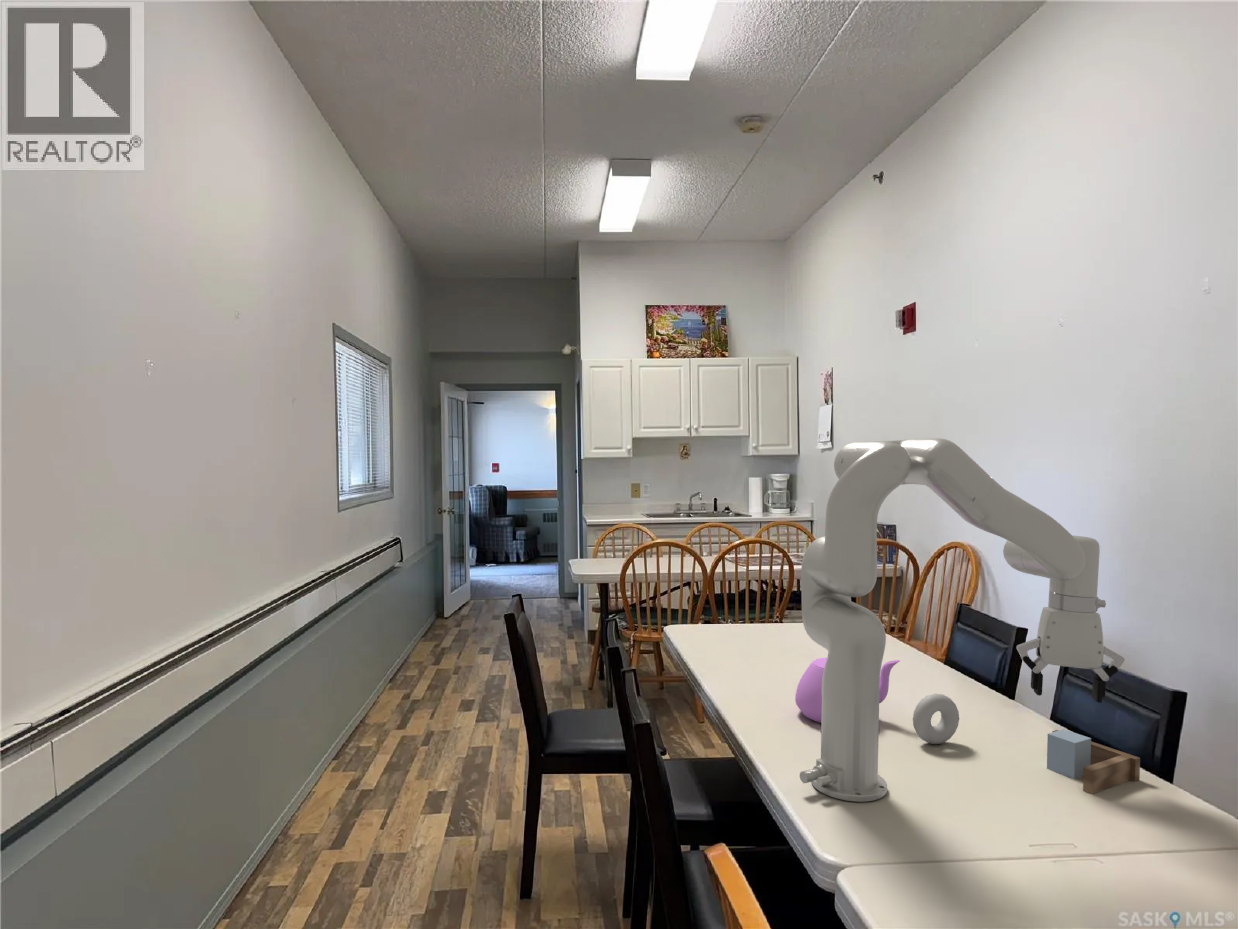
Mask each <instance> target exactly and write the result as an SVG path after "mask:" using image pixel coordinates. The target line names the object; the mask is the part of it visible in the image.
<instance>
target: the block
mask: <svg viewBox="0 0 1238 929" xmlns="http://www.w3.org/2000/svg"><path fill="white" fill-rule="evenodd" d="M1091 742H1092V738H1091V737H1088V736H1085V735H1082V734H1079V733H1077V732H1073V731H1070V730H1067V729H1065V728H1064V729H1060V730H1059V731H1056V732H1049V733H1047V746H1046V747H1047V748H1046V749H1047V750H1046V769H1047V770H1049V771H1052V772H1055V773H1057V774H1060V775H1062V776H1066V777H1068V778H1070V779H1073V780H1076V779H1078V778H1081V777H1083V770H1084V767H1087V766H1090V759H1091Z"/></svg>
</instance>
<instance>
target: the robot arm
mask: <svg viewBox="0 0 1238 929" xmlns="http://www.w3.org/2000/svg"><path fill="white" fill-rule="evenodd" d="M833 468H834V469H833V470H834V473H835V475H836V477H837V479H838V480H837V481H836V483H835V484H834V486H833V488H832V490H831V492H830V495H829V497H828V500H827V504H826V509H825V528H824V529H825V530H824V536H821V537H818V538H816V539H815V540H813V541H812V542H811V543H809V545H808V546H807V548H806V549H805V551H804V553H803V558H802V561H801V569H800V570H801V571H800V572H801V573H800V574H801V575H800V576H801V579H800V580H801V581H800V582H801V584H800V585H801V588H800V589H801V616H802V617H801V618H802V625H803V628H804V631H805V632H806V634H807V635H808V636H809V638H810V639H811V640H812V642H814V643H816V644H817V645H819V646H821V647H822V648H824V649H826V650H827V651H828V652H827V657H826V658H827V661H826V664H825V667H824V671H823V677H822V719H821V724H820V726H821V729H820V735H821V736H820V758H817V759H816V761H815V765H814V766H813V767H812V769H806V770H802V771H800V772H799V780H800V781H801V782H802V784H808V783H811V784H812V786H813V787H814V788H815V789H816V790H817V791H819V792H820V793H822V794H824V795H826V796H828V797H831V798H834V799H837V800H838V799H839V800H842V801H849V802H854V803H855V802H856V803H857V802H861V803H864V802H873V801H877V800H880V799H881V798H883V797H885V795H887V792H888V784H887V781H886V780H885V779H884V777H882V776H881V775H880V774H878V773H879V770H878V769H879V736H880V735H879V732H880V730H879V727H880V726H879V723H880V704H879V685H880V674H881V669H882V666H883V659H884V655H885V649H886V644H887V639H886V638H887V636H886V629H885V627H884V624H883V623H882V620H881V619H880V617H878V616H877V614H875V612H873V611H872V610H870V609H869V608H868V607H865V606H863V605H861V604H858V603H856V602H854V601H852V598H859V597H864V596H866V595H867V594H869V593H870V592H871V591H873V589H874V587H875V585H876V583H877V578H878V541H877V540H878V539H877V538H878V536H877V535H878V534H877V528H878V516H879V511H880V509H881V507H882V505H883V503H884V501H885V500H886V499H887V497H888V496H889V495H891V493H892V492H894V490H896V489H897V488H899V486H902V485H921V486H926V487H927V488H929V489H930V490H931V491H932V492H933V493H935V494H936V496H938V497H939V498H940V499H941V500H942V501H943V502H945V503H946V504H947V505H948V506H949V508H951V509H952V510H953V511H954V512H956V513H957V515H958V516H960V517H961V518H962V519H963V520H964V521H965V522H967V523H969V524H970V525H972V526H974V527H975V528H978V529H980V530H982V531H984V532H987V533H989V534H993V535H995V536H997V537H1000V538H1002V539H1005V540H1007V541H1005V544H1004V546H1003V549H1002V553H1003V558H1004V560H1005V561H1006V563H1007V565H1009V566H1010V567H1011V568H1013V569H1014V570H1015V571H1018V572H1021V573H1022V574H1023V573H1024V574H1028V575H1032V576H1036V577H1042V578H1046V579H1049V588H1048V590H1049V592H1048V602H1047V603H1048V606H1044V607H1043V608H1042V610H1041V614H1040V618H1039V622H1038V628H1037V636H1036V638H1034V639H1031V640H1028V641H1025V642H1022V643H1020V644H1017V645H1016V650H1017V652H1018V654H1019V655H1020V656H1019V657H1020V659H1021V660H1022V661H1023V663H1025V665H1026V666H1027V667H1028V668H1029V669H1030V670H1031V674H1030V676H1031V677H1030V688H1031V690H1033V692H1034V693H1035V694H1036V696H1042V695H1043V683H1044V680H1043V679H1044V674H1043V673H1042V671H1043V670H1044V669H1045V668H1046V667H1047V666H1048V665H1052V666H1059V667H1069V668H1077V669H1078V668H1079V669H1086V670H1087V669H1088V670H1092V671H1093V672H1094V673H1095V675H1094V676H1093V677H1092V691H1091V697H1092V699H1093V701H1095V702H1096V703H1100V704H1102V703H1103V698H1105V697H1106V687H1107V686H1106V685H1107V682H1108V681H1109V680H1110V678H1111V677H1112V676H1114V675H1115V674H1117V673H1118V672H1119V669H1120V668H1121V667H1122V665H1123V664H1124V663H1125V661H1126V660H1125V658H1124V657H1123V656H1122V655H1121V654H1119V653H1117V652H1115V651H1114V650H1112V649H1110V648H1108V647H1106V646H1104V634H1103V632H1104V631H1103V625H1102V618H1101V614H1100V613H1098V611H1099V609H1100V608H1106V604H1107V603H1106V600H1104V599H1100V598H1099V597H1098V585H1099V569H1100V568H1099V567H1100V551H1101V548H1100V547H1101V546H1100V543H1099V542H1098V540H1096V539H1095V538H1092V537H1088V536H1081V535H1072V533H1071V532H1069V531H1068V530H1067V529H1066V528H1065V527H1064V526H1063V525H1061V523H1060V522H1058V521H1057V520H1055V519H1054V518H1053V517H1052V516H1050V515H1049V514H1047V513H1046V512H1045V511H1043V510H1041V509H1040V508H1038V507H1036V506H1034V505H1033V504H1030V502H1028V501H1026V500H1024V499H1023V498H1021V497H1020V496H1018V495H1016V494H1014V493H1013V492H1011V491H1009V490H1008V489H1005V488H1004V487H1003V486H1002V485H1001V484H999V483H998V482H997V481H996V480H995V479H994V478H993V477H992V476H991V475H989V473H988V472H986V470H984V469H983V468H982V467H981V466H980V465H979V464H978V463H977V462H976V461H975V460H974V459H973V458H972V457H971V456H969V455H968V454H967V452H965V451H964V450H963V449H962V448H961V447H960V446H959V445H957V444H956V443H954V442H953V441H951V440H948V439H946V438H945V439H944V438H939V437H938V438H935V437H934V438H909V439H897V440H886V441H885V440H882V441H854V442H851V443H848V444H846V445H844V446H842V447H841V448H840V449H839V450H838V451H837V453H836V455H835V458H834V462H833ZM851 597H852V598H851ZM1033 649H1035V654H1036V658H1035V659H1034V660H1032V658H1030V655H1029V653H1028V652H1029V651H1031V650H1033ZM1104 655H1105V656H1106V657H1108V658H1110V659H1111V662H1110V663H1109V664H1108V665H1106V666H1105V667H1102V666H1103V663H1104Z"/></svg>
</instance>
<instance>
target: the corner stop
mask: <svg viewBox="0 0 1238 929" xmlns="http://www.w3.org/2000/svg"><path fill="white" fill-rule="evenodd" d="M1056 731H1059V730H1058V729H1055V730H1052V732H1056ZM1052 732H1051V733H1052ZM1140 771H1141V757H1139V756H1136V755H1132V754H1131V753H1127V752H1124V751H1121V750H1118V749H1115V748H1112V747H1108V746H1105V745H1103V744H1100V743H1097V742H1094V741H1091V759H1090V766H1087V767H1084V770H1083V776H1082V791H1083V792H1086V793H1088V794H1089V795H1090V794H1091V795H1093V794H1097V793H1099V792H1102V791H1104V790H1107V789H1110V788H1113V787H1115V786H1117V785H1121V784H1123V783H1127V782H1129V781H1132V782H1137V781H1140V777H1141V776H1140V773H1141V772H1140Z"/></svg>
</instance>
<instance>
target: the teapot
mask: <svg viewBox="0 0 1238 929" xmlns="http://www.w3.org/2000/svg"><path fill="white" fill-rule="evenodd" d="M826 661H827V657H820V658H816V659H814V660H812V662H811V663H810V664H809V665H808V667H806V669H805V671H804V673H803V674H802V675H801V678H800V679H799V681H798V683H797V687H796V691H795V695H794V696H795V704H796V706H797V708H798V709H799V710H800V711H801V713H802V714H803V715H804V716H805V717H807V718H808V719H810V720H812V721H815V722H817V723H821V719H822V677H823V671H824V667H825V664H826ZM900 661H901V659H896V660H890V661H887V662H884V663H883V664H882V665H881V672H880V685H879V705H880V704H881V703H883V701H885V700H886V698H887V695H888V693H889V687H890V686H889V684H890V673H891V671H892V669H893V668H894V666H896V665H897V664H898V663H899V662H900Z"/></svg>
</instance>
